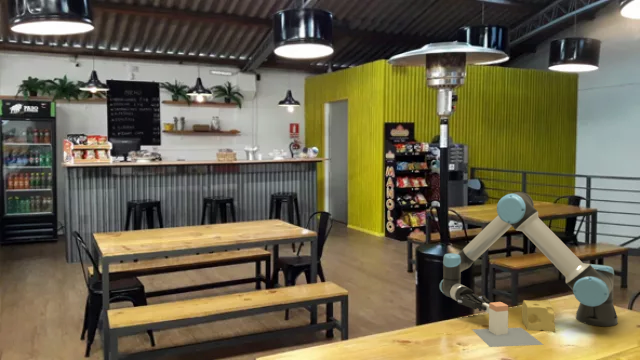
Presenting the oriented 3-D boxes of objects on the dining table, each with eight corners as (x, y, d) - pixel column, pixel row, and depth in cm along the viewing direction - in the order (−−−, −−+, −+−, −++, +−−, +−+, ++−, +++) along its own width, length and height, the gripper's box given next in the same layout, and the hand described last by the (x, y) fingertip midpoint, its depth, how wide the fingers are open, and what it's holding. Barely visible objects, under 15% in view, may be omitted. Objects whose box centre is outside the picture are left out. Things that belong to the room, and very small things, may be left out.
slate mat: (521, 329, 210) (521, 327, 210) (543, 346, 192) (543, 344, 192) (471, 330, 209) (471, 329, 209) (489, 348, 191) (489, 346, 191)
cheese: (555, 333, 205) (555, 308, 204) (525, 332, 207) (526, 306, 206) (549, 324, 215) (549, 300, 214) (521, 323, 217) (521, 299, 217)
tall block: (500, 329, 208) (500, 301, 208) (507, 333, 203) (508, 305, 203) (488, 330, 207) (489, 302, 206) (496, 335, 202) (496, 306, 202)
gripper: (476, 301, 233) (507, 319, 210) (448, 304, 229) (477, 322, 207) (476, 285, 232) (507, 300, 209) (448, 287, 229) (477, 303, 206)
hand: (492, 311), depth 208 cm, fingers closed
